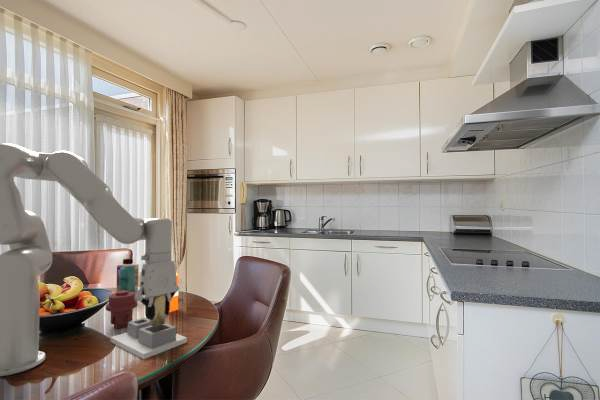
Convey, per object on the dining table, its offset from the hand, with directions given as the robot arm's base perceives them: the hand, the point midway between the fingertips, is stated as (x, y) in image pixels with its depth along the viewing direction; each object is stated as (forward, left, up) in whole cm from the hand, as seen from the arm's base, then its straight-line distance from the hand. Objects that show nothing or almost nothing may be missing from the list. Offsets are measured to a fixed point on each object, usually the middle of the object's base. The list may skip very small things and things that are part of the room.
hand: (157, 315), depth 98 cm
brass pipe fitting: (0, 0, -2) cm, 2 cm away
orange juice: (+21, +31, -10) cm, 39 cm away
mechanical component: (+2, +27, -10) cm, 29 cm away
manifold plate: (0, +5, -9) cm, 11 cm away
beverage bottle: (+17, +54, -10) cm, 57 cm away
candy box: (+23, +66, -10) cm, 71 cm away
